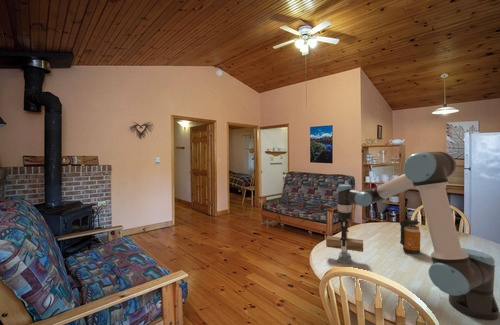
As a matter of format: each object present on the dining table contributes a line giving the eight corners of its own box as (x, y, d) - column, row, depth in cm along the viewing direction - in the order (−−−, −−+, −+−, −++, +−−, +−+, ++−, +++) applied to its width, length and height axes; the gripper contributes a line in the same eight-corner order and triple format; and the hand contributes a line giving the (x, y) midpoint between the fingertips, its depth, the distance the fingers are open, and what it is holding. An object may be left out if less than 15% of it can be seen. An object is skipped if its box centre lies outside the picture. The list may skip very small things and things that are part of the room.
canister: (422, 254, 148) (423, 222, 147) (402, 253, 150) (403, 221, 149) (416, 248, 156) (416, 217, 155) (396, 247, 159) (397, 217, 157)
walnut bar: (363, 251, 138) (363, 243, 138) (326, 246, 146) (326, 238, 146) (363, 248, 143) (363, 240, 142) (327, 243, 151) (327, 235, 150)
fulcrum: (349, 264, 138) (349, 252, 138) (338, 262, 140) (338, 250, 140) (350, 255, 149) (350, 244, 148) (339, 253, 151) (339, 243, 151)
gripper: (350, 217, 130) (350, 256, 131) (352, 206, 153) (351, 240, 154) (335, 216, 133) (335, 254, 134) (339, 205, 156) (339, 238, 157)
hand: (344, 246), depth 144 cm, fingers open, 13 cm apart
